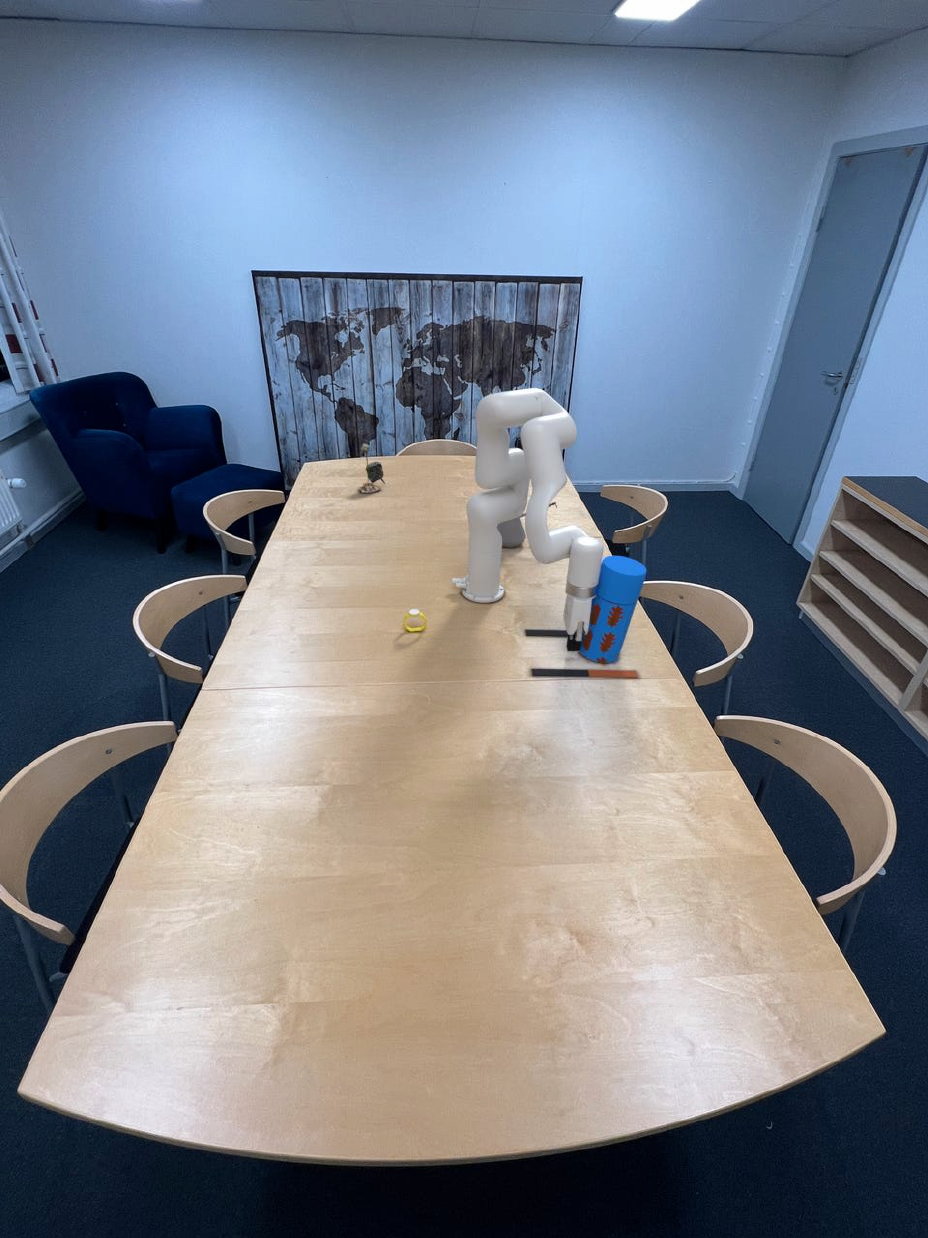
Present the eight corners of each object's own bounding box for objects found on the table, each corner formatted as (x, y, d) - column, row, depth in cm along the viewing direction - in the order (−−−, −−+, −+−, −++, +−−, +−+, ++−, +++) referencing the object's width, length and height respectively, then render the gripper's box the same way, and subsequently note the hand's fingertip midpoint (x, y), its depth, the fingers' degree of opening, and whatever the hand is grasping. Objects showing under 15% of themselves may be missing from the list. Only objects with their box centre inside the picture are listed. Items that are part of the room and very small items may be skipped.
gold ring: (426, 627, 167) (425, 608, 164) (426, 632, 165) (426, 614, 162) (403, 627, 167) (403, 609, 163) (404, 633, 164) (403, 614, 161)
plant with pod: (386, 493, 248) (384, 444, 238) (357, 494, 247) (354, 444, 236) (385, 486, 255) (383, 438, 244) (357, 486, 254) (354, 438, 243)
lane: (532, 676, 150) (532, 674, 150) (525, 630, 167) (525, 629, 167) (637, 678, 151) (638, 676, 151) (619, 632, 168) (620, 631, 168)
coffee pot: (494, 550, 208) (497, 509, 200) (490, 535, 217) (492, 495, 209) (556, 549, 210) (561, 508, 202) (549, 535, 219) (553, 495, 211)
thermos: (621, 666, 154) (650, 579, 142) (579, 659, 154) (605, 571, 142) (615, 643, 164) (643, 559, 151) (576, 636, 164) (600, 552, 151)
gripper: (562, 572, 154) (554, 633, 164) (570, 602, 142) (561, 666, 151) (591, 573, 154) (582, 633, 164) (602, 603, 142) (592, 667, 151)
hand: (572, 649), depth 158 cm, fingers closed
